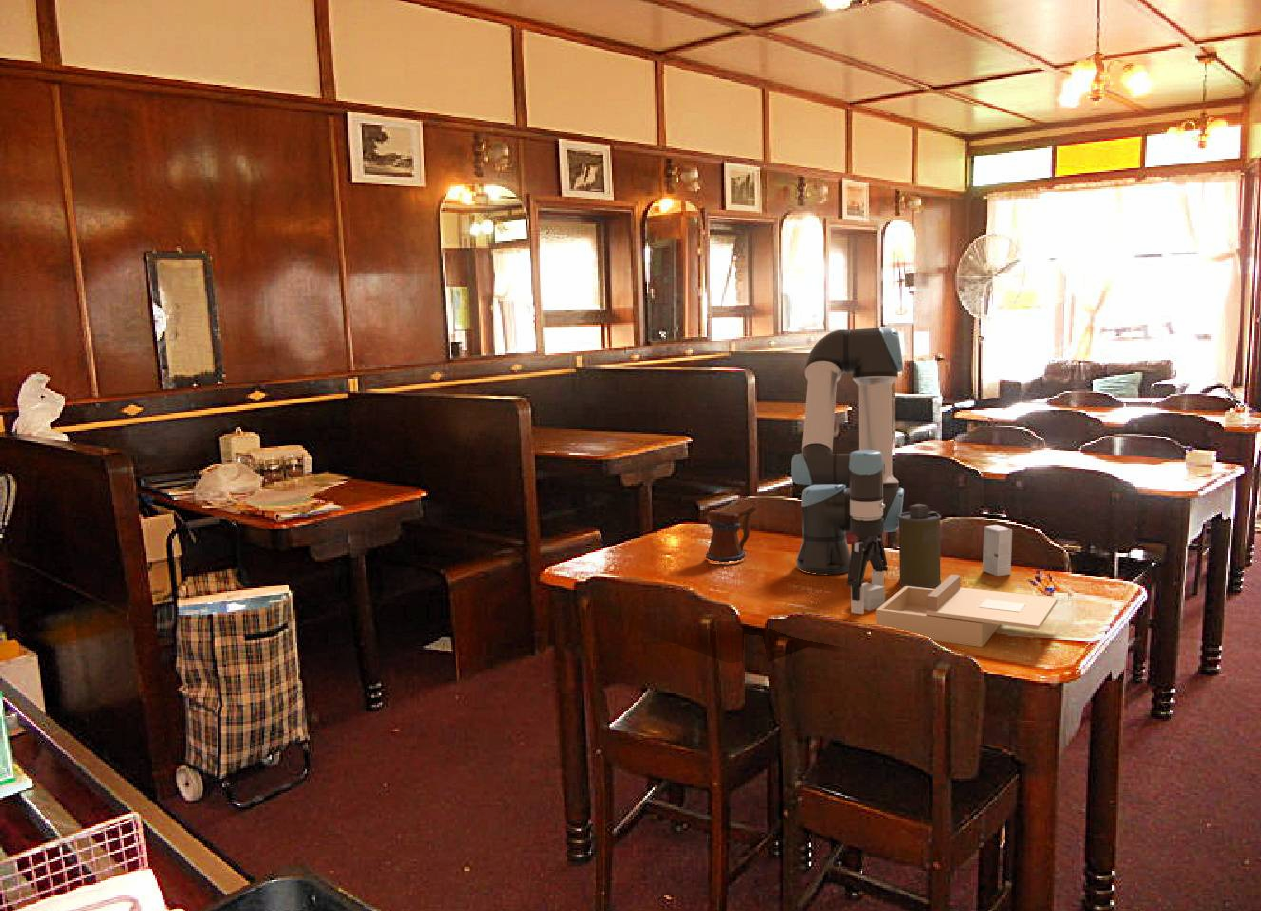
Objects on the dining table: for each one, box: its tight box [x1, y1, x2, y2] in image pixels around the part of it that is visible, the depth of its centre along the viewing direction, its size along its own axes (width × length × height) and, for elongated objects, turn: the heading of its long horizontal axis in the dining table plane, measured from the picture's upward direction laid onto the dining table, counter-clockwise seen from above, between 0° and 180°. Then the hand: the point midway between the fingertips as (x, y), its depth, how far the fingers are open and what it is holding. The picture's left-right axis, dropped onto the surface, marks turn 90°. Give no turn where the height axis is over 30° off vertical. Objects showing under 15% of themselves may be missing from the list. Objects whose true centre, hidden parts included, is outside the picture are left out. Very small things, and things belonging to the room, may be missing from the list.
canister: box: [898, 503, 942, 589], centre depth 235 cm, size 11×10×20 cm
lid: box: [926, 574, 1059, 630], centre depth 197 cm, size 22×20×4 cm
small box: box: [862, 582, 886, 612], centre depth 220 cm, size 6×6×5 cm
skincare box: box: [982, 524, 1013, 577], centre depth 241 cm, size 6×4×12 cm
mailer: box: [875, 586, 1001, 648], centre depth 203 cm, size 22×20×5 cm
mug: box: [705, 504, 757, 562], centre depth 269 cm, size 18×12×15 cm, turn 128°
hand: (868, 605), depth 220 cm, fingers open, 13 cm apart
